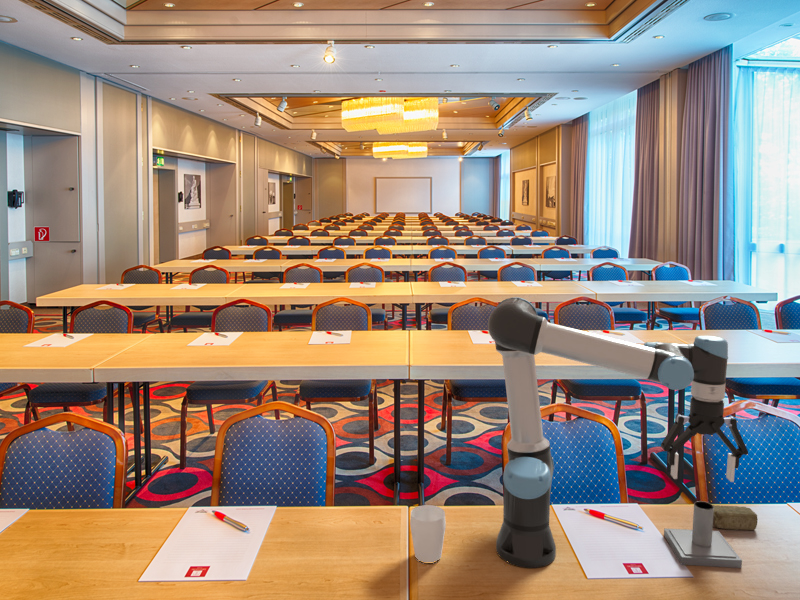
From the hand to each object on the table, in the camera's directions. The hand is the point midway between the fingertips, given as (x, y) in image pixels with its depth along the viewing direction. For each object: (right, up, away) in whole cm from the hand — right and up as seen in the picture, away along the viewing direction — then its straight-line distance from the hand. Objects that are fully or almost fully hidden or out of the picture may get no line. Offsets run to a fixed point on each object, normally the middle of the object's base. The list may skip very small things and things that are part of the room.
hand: (701, 478), depth 152 cm
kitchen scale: (+1, -19, +2) cm, 19 cm away
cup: (-70, -21, 0) cm, 73 cm away
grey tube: (+1, -17, +1) cm, 17 cm away
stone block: (+16, -18, +15) cm, 28 cm away
